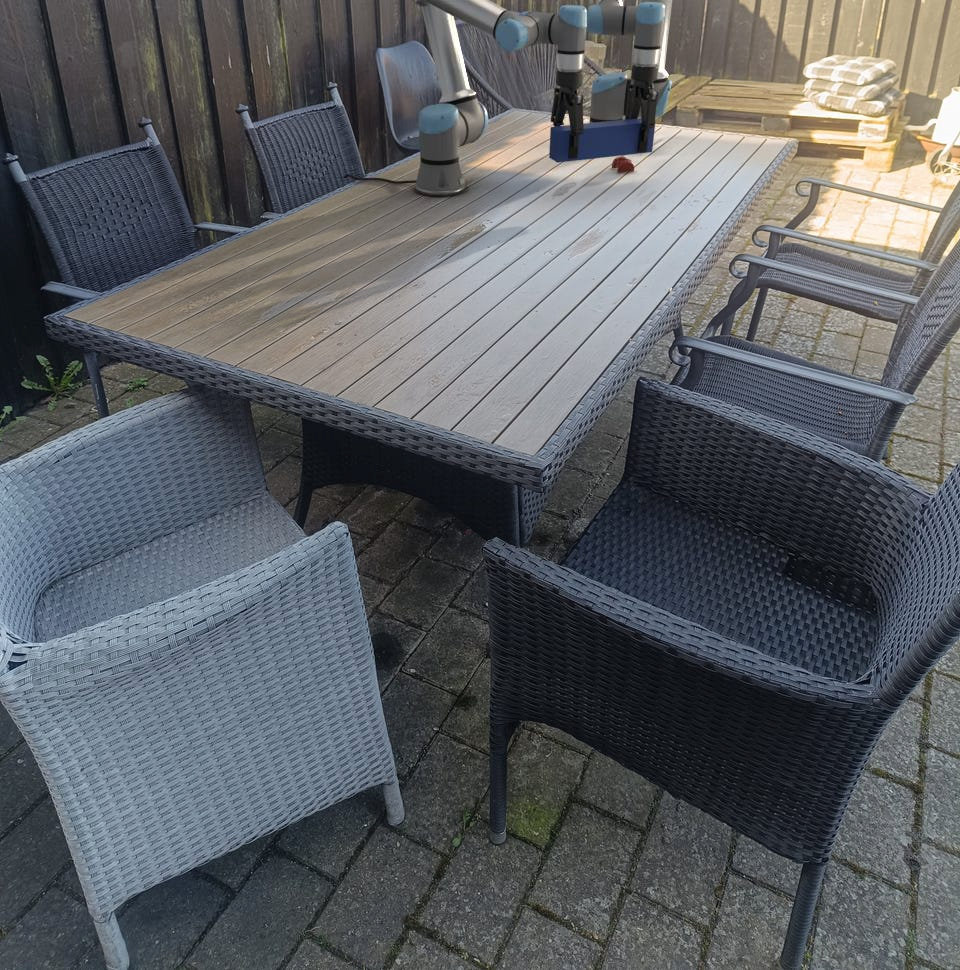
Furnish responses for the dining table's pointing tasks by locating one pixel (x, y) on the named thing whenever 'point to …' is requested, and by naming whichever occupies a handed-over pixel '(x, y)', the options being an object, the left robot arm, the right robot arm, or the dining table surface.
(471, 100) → the left robot arm
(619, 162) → the red lumpy piece
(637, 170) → the dining table surface
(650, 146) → the bar
